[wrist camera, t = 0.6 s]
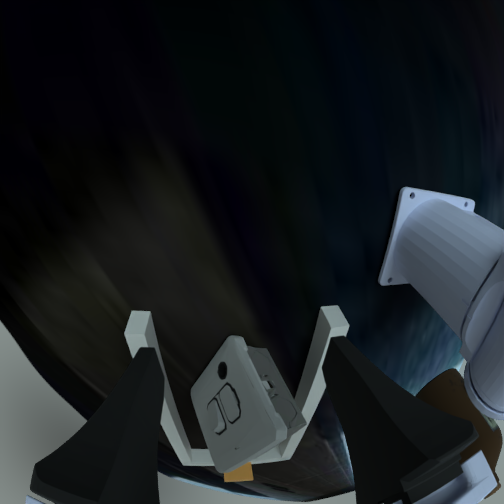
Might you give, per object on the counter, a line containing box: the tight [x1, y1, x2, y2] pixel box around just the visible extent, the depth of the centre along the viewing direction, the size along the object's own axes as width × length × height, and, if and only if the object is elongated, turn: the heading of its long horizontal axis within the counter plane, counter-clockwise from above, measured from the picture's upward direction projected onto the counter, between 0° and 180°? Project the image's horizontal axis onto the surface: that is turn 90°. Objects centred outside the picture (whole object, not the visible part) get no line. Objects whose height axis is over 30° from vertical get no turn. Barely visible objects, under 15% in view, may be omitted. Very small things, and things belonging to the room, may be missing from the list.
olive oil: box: [416, 368, 502, 499], centre depth 23 cm, size 11×11×25 cm
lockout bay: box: [124, 305, 350, 482], centre depth 24 cm, size 16×29×6 cm, turn 177°
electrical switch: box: [191, 335, 307, 473], centre depth 19 cm, size 9×5×9 cm, turn 150°
